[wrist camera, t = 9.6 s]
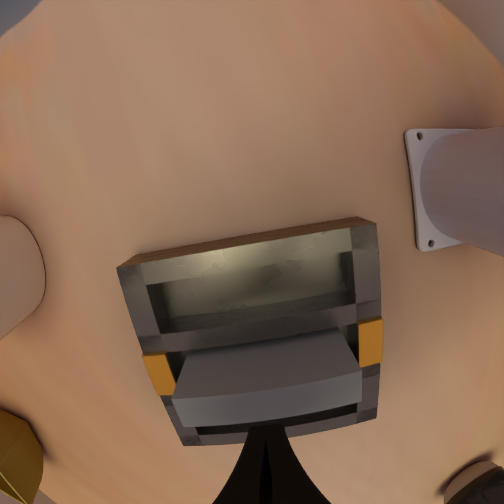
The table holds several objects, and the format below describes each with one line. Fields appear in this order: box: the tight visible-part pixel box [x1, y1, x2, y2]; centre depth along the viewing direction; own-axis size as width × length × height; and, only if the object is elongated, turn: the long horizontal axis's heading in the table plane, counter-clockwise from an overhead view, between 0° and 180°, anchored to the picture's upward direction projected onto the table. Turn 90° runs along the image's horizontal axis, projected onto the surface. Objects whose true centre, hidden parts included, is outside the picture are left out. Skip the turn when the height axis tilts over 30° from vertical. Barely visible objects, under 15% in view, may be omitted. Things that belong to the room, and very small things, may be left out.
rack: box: [116, 217, 383, 446], centre depth 18 cm, size 14×14×3 cm
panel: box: [171, 327, 362, 427], centre depth 16 cm, size 9×2×6 cm, turn 100°
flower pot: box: [0, 410, 43, 504], centre depth 19 cm, size 9×9×9 cm
